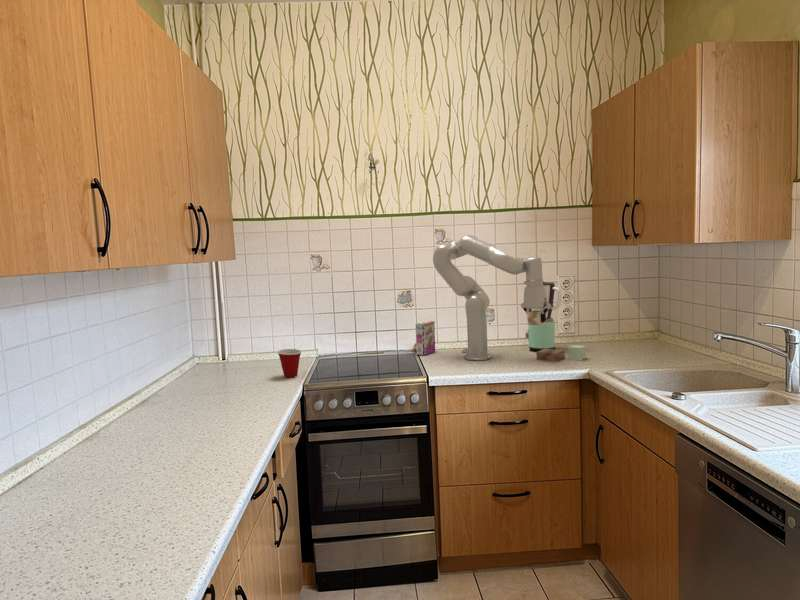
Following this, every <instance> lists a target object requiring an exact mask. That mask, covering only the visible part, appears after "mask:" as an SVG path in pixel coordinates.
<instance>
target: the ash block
mask: <svg viewBox="0 0 800 600" xmlns="http://www.w3.org/2000/svg"><path fill="white" fill-rule="evenodd" d="M541 314H542V313H541V311H538V310H533V311H530V312H527V315H526V316H527V318H528V319H527V326H528V325H542V324H545V323H546V321H545V322H543V323H541Z"/></svg>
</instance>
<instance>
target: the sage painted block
mask: <svg viewBox="0 0 800 600" xmlns="http://www.w3.org/2000/svg"><path fill="white" fill-rule="evenodd" d="M567 349H568V351H567V353H568V355H567V356H568V361H569V360H571V361H580V362H581V361H583V359H584V360H585V358H587V346H586V345H581V344H580V345H579V344H578V345H577V344H573V345H569V346H568V347H567Z"/></svg>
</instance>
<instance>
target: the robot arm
mask: <svg viewBox="0 0 800 600" xmlns="http://www.w3.org/2000/svg"><path fill="white" fill-rule="evenodd" d="M464 256H471V257H473V258H476V259H478V260H480V261H483V262H485V263H487V264H488V265H491V266H493V267H494V268H497V269H499V270H501V271H503V272H505V273H508V274H510V275H519V274H522V273H525V281H523V284H524V285H525V287H524V291H523V302H522V303H521V304H520V307H521V308H522V310H523V311H524V312H525V314H527V312H530V311H532V308H540V310H541V313H542V314H541V323H543V322H545V320H546V313H547V311H548V310H549V309H550V308H551V307H552V306H551V304H550V303H549V302H548V301H547V297H546V291H545V287H544V286H543V281H544V280H543V260H542V258H541V257H540V256H532V257H531V256H530V257H513V256H511V255H508V254H506V253H504V252H502V251H501V250H499V249H498V248H497V247H496V246H495V245H493V244H491V243H488V242H485V241H483V240H482V239H479V238H478V237H477V236H475V235H472V234H471V235H470V234H468V235H467V234H466V235H463V236H462V237H461V238H460V239H457V240H454V241H451V242H449V243H441V244H440V245H438V246H437V247H436V248H435V250H434V252H433V255H432V263H433V266H434V268H435V270H436V272H437V273H438V274H439V275H440V276H441V278H442V279H443V281H444V282H445V283H446V284H447V285H448V286H449V288H451V289H452V291H453V292H454V293H455V295H457V296H460V297H463V298H465V303H464V305H465V307H464V308H465V309H464V310H465V315H466V331H467V332H466V334H467V348H462V349H461V353H462V354H465V355H464V358H465V360H468V361H475V362H476V361H487V360H490V359H491V358H492V355H491V354H488V350H489V349H488V325H487V323H488V321H487V313H486V309H487V308H489V306H490V297H489V296H488V294H487V293H486V292H485V290H484V289H483V288H482V286H481V285H479V284H478V283H477V281H476V280H475V279H474V278H473V277H471V276H469V275H464V274H463V273H462V272H461V271H460V270H459V268H458V267H457V266H456V265H454V263H453V262H452V261H453V260H456V259H458V258H462V257H464ZM546 306H547V307H546ZM545 307H546V308H545ZM527 320H528V318H527Z"/></svg>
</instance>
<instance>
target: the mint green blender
mask: <svg viewBox="0 0 800 600" xmlns="http://www.w3.org/2000/svg"><path fill="white" fill-rule="evenodd" d="M543 286H544V287H545V291H546V297H547V301H548V302H549V303H550V304H551V306H552V307H551V308H550V309H549V310H548V311H547V313H546V320H545V321H546V323H545V324H542V325H528V324H527V327H528V330H526V331H525V338H526V339H527V340H528V348H529V352H534V351H537V352H538V351H540V350H542V349H544V348H545V349H555V348H556V329H555V320H554V318H553V317H552V312H553V310H558V309H559V308H560V306H561V304H562V290H561V289H560V288H559V287H558V286H556V285H555V282H549V281H548V282H546V281H544V280H543ZM555 291H556V305H555V306H554V298H555ZM546 307H547V306H546ZM546 307H545V308H546ZM533 310H538V311H541V310H540V308H532V311H533Z"/></svg>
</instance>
